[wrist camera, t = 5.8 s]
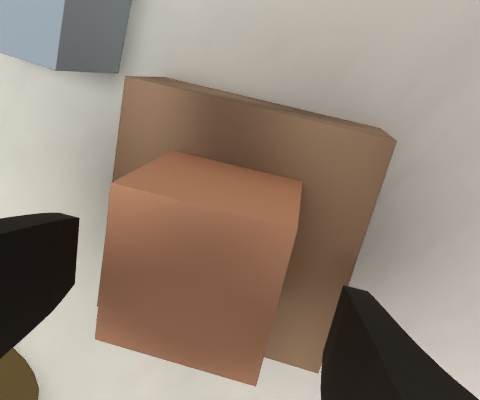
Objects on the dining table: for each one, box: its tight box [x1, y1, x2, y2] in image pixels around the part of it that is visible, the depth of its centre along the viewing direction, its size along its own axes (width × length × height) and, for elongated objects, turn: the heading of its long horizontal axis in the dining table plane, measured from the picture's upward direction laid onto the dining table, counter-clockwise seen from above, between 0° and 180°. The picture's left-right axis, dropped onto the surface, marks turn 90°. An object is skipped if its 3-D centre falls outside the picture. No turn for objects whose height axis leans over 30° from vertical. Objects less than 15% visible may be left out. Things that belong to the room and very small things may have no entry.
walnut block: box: [97, 76, 397, 373], centre depth 16 cm, size 9×9×4 cm
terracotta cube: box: [95, 151, 303, 386], centre depth 12 cm, size 4×4×4 cm
